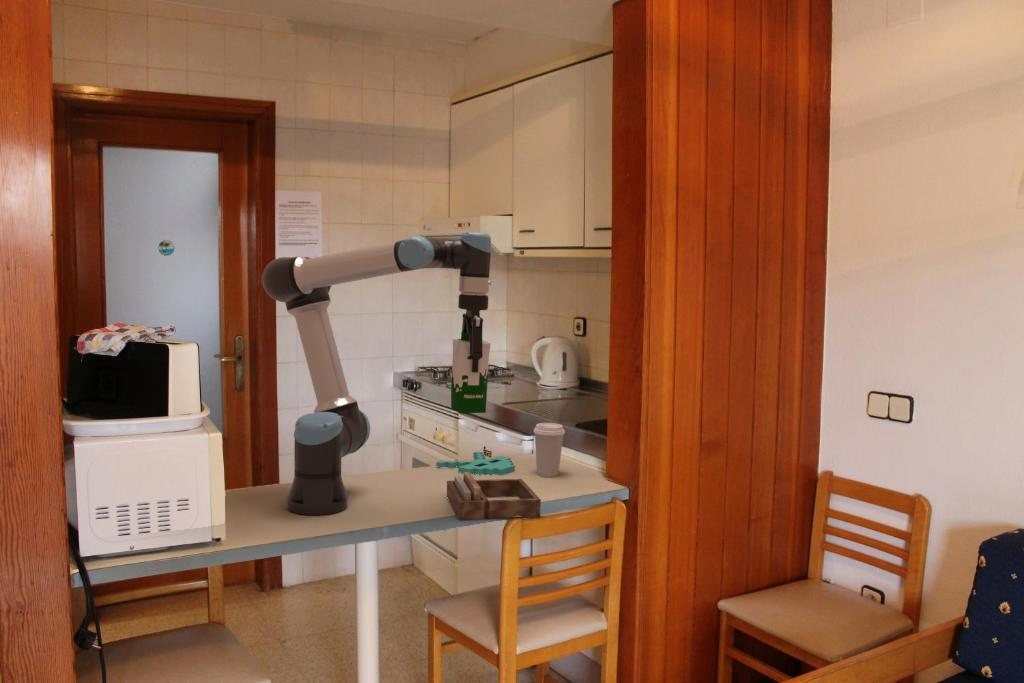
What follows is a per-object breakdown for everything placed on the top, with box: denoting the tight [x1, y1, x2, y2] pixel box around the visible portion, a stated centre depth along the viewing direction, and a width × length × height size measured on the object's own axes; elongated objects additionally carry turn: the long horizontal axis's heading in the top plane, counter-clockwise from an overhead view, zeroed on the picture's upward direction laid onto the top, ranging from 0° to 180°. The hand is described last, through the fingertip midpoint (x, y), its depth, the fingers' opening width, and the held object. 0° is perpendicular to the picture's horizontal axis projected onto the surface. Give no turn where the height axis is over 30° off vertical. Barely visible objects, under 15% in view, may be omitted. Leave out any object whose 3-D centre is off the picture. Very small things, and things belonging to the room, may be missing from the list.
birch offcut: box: [462, 472, 481, 501], centre depth 226 cm, size 2×16×8 cm, turn 13°
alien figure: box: [435, 450, 516, 476], centre depth 269 cm, size 20×2×20 cm
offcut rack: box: [446, 478, 542, 521], centre depth 228 cm, size 21×20×4 cm
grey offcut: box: [453, 475, 471, 501], centre depth 226 cm, size 2×16×6 cm, turn 13°
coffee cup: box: [533, 422, 566, 478], centre depth 263 cm, size 10×10×15 cm
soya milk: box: [450, 331, 492, 414], centre depth 223 cm, size 9×9×20 cm
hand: (469, 381), depth 223 cm, fingers closed on soya milk, 9 cm apart
